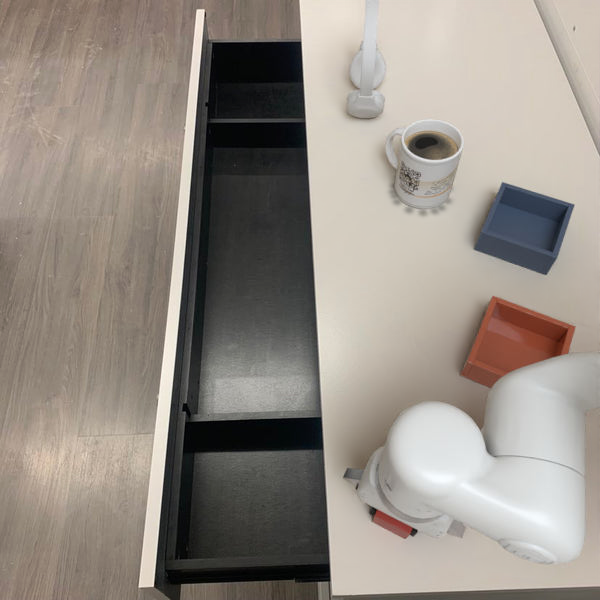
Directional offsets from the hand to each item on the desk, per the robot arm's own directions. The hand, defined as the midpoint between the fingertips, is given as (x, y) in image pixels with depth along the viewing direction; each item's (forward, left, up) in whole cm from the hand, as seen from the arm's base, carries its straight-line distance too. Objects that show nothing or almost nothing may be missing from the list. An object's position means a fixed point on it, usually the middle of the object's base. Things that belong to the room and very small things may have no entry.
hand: (395, 513), depth 65 cm
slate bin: (-2, -49, 0) cm, 49 cm away
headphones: (+34, -69, -1) cm, 77 cm away
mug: (+17, -53, -1) cm, 56 cm away
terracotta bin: (-7, -27, 0) cm, 28 cm away
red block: (0, 0, 0) cm, 0 cm away
